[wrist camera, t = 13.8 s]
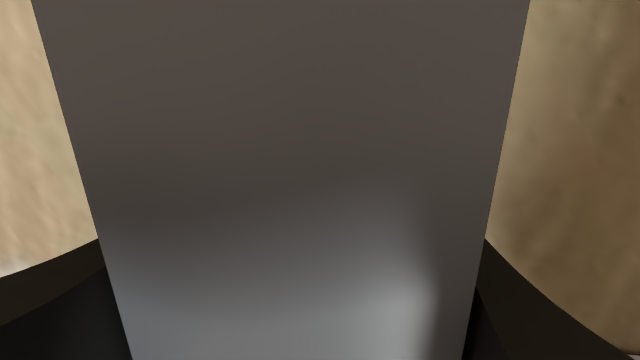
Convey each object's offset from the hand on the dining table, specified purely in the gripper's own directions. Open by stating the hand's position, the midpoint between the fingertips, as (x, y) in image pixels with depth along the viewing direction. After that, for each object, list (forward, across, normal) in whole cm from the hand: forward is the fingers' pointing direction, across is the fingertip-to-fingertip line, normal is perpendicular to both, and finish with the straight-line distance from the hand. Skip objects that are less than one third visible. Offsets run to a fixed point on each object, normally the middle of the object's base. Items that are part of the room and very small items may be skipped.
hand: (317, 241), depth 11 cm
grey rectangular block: (+2, 0, 0) cm, 2 cm away
